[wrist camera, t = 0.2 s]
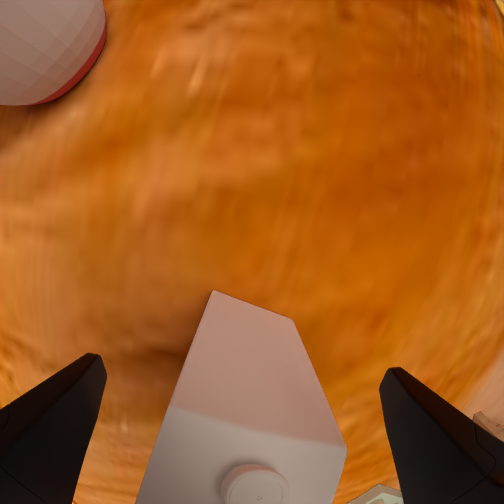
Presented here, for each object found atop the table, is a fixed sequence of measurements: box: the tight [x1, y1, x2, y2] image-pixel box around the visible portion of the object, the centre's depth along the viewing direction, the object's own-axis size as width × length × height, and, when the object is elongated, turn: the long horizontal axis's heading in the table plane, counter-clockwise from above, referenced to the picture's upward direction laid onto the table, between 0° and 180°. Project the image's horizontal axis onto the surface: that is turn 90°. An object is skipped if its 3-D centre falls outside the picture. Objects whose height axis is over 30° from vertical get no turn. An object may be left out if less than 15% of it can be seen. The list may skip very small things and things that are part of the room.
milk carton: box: [135, 290, 347, 504], centre depth 14 cm, size 7×7×19 cm
